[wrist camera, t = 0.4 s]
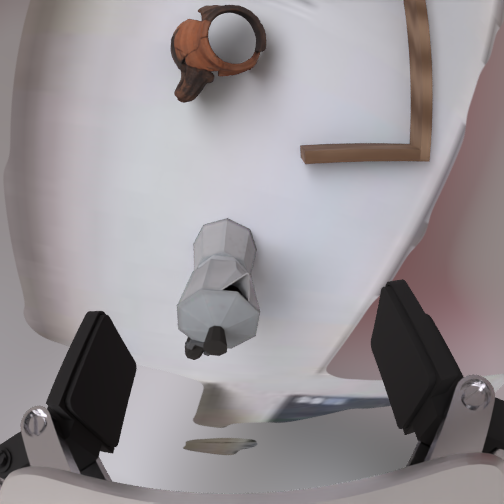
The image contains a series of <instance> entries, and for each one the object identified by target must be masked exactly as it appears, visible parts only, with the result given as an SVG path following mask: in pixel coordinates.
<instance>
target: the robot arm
mask: <svg viewBox="0 0 504 504" xmlns="http://www.w3.org/2000/svg"><path fill="white" fill-rule="evenodd" d="M371 348H372V351H373V354H374V357H375V360H376V362H377V365H378V368H379V371H380V374H381V377H382V380H383V383H384V386H385V389H386V392H387V395H388V398H389V401H390V404H391V407H392V410H393V413H394V416H395V419H396V422H397V426H398V427H399V429H403V430H404V433H405V435H407V434H410V433H413V432H415V434H416V437H417V439H418V443H417V445H416V447H415V449H414V451H413V454H412V456H411V458H410V460H409V462H408V464H407V466H406V467H405V468H401V469H398V470H395V471H391V472H387V473H384V474H380V475H375V476H371V477H367V478H363V479H358V480H354V481H349V482H344V483H339V484H333V485H327V486H322V487H315V488H308V489H299V490H290V491H280V492H267V493H246V494H245V493H243V494H217V493H194V492H180V491H170V490H161V489H153V488H145V487H139V486H133V485H127V484H122V483H117V482H112V480H111V478H110V476H109V475H108V473H107V471H106V469H105V468H104V466H103V464H102V462H101V460H100V458H99V452H100V451H103V452H108V453H113V451H114V447H116V446H117V445H118V443H119V438H120V434H121V429H122V425H123V421H124V417H125V412H126V408H127V404H128V400H129V396H130V392H131V388H132V385H133V381H134V377H135V373H136V362H135V360H134V359H133V357H132V356H131V354H130V352H129V351H128V349H127V347H126V345H125V344H124V342H123V340H122V338H121V337H120V335H119V333H118V331H117V330H116V328H115V326H114V324H113V322H112V320H111V319H110V317H109V316H108V315H106V314H105V313H104V312H103V311H90V312H87V314H86V315H85V317H84V319H83V321H82V323H81V325H80V327H79V329H78V331H77V333H76V335H75V337H74V339H73V342H72V344H71V346H70V348H69V350H68V352H67V354H66V357H65V359H64V361H63V364H62V366H61V368H60V370H59V372H58V375H57V377H56V379H55V382H54V384H53V387H52V389H51V392H50V394H49V397H48V399H47V402H46V404H47V405H48V408H47V409H46V408H45V407H43V406H35V407H32V408H30V409H29V410H28V411H27V412H26V413H25V414H24V416H23V418H22V420H21V432H19V433H17V434H16V435H14V436H13V437H11V438H10V439H8V440H7V441H5V442H4V443H2V444H0V504H504V401H503V400H500V399H498V398H495V392H494V388H493V387H492V385H491V383H490V382H489V381H488V380H487V379H486V378H484V377H482V376H479V375H468V376H466V377H463V375H462V373H461V371H460V369H459V367H458V365H457V363H456V361H455V359H454V357H453V356H452V354H451V352H450V350H449V348H448V346H447V344H446V343H445V341H444V339H443V337H442V335H441V334H440V332H439V330H438V328H437V327H436V325H435V323H434V321H433V320H432V318H431V317H430V316H429V315H428V314H425V312H424V311H423V309H422V307H421V306H420V304H419V302H418V301H417V299H416V297H415V296H414V294H413V293H412V291H411V289H410V288H409V286H408V284H407V283H406V281H405V280H397V281H390V282H387V284H386V287H382V289H381V294H380V300H379V305H378V310H377V315H376V320H375V325H374V329H373V334H372V338H371Z"/></svg>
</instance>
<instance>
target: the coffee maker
mask: <svg viewBox="0 0 504 504" xmlns="http://www.w3.org/2000/svg"><path fill="white" fill-rule="evenodd" d="M193 246H194V271H193V272H192V275H191V277H190V279H189V281H188V283H187V285H186V288H185V290H184V292H183V294H182V296H181V298H180V301H179V303H178V304H177V317H178V329H179V330H180V331H181V332H183V333H184V334H185V335H187V336H188V338H187V342H185V344H186V345H185V354H186V356H187V358H190V359H193V360H196V359H198V358H200V357H201V355H202V354H203V352H204V355H207V356H209V355H217V356H220V355H222V354H224V353H226V352H227V348H233V347H235V346H237V345H239V344H241V343H243V342H245V341H247V340H249V339H251V338H253V337H254V336H256V331H257V326H258V320H259V315H260V309H259V305H258V301H257V298H256V294H255V290H254V286H253V282H252V278H251V276H250V275H251V271H252V267H253V262H254V258H255V254H256V247H255V244H254V240H253V237H252V234H251V231H250V229H249V228H246V227H244V226H242V225H240V224H238V223H236V222H234V221H232V220H230V219H228V218H227V219H223V220H220V221H216V222H212V223H209V224H205V225H203V227H202V229H201V231H200V232H199V234H198V236H197V238H196V240H195V242H194V244H193Z"/></svg>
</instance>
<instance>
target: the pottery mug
mask: <svg viewBox="0 0 504 504" xmlns="http://www.w3.org/2000/svg"><path fill="white" fill-rule="evenodd" d="M198 12H199V13H201V16H202V21H198V20H192V19H187V20H186V21H185V22H182V23H181V24H180V25H179V26H178V27H177V29H176V30H175V32H174V34H173V36H172V39H171V54H172V58H173V60H174V62H175V63H176V65H177V66H178V68H179V69H180V70H181V80H180V82H179V84H178V86H177V88H176V90H175V93H174V94H175V96H176V97H177V98H178V100H179V101H181V102H183V103H185V102H189V101H192V100H194V99H195V98H196V97H197V96H198V95H199V93H200V92H201V91H202V90H203V88H204V86H205V85H206V84H207V83H211V82H213V80H214V75H213V73H212V72H210V71H218V76H230V75H236V74H239V73H242V72H245V71H247V70H250V69H251V68H253V67H254V66H255V64H256V63H257V60H258V58H259V55H260V52H263V51H264V50H265V49H266V33H265V30H264V27H263V25H262V24H261V23H260V20H259V19H258V17H257V16H255V15H254V14H253V13H252V12H251V11H250V10H248V9H246V8H244V7H241V6H235V5H225V6H219V5H213V6H204V7H202V8H200V9H199V10H198ZM230 12H231V13H235V14H238V15H240V16H242V17H244V18H245V19H246V20H247V21H248V22H249V23H250V25H251V26H252V28H253V30H254V32H255V36H256V48H255V52H254V54H253V56H252V57H251V58H250V59H248V60H247V61H245V62H243V63H240V64H232V63H228V62H224V61H223V60H221V59H220V58H219V57H218V56H217V55H216V54H215V53H214V52H213V50H212V48H211V46H210V44H209V40H208V30H209V27H210V25H211V22H212V21H213V20H214V19H215V18H216V17H217V16H218V15H220V14H223V13H230ZM184 61H185V62H186V64H187V65H186V64H185V63H184Z"/></svg>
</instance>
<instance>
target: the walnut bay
mask: <svg viewBox="0 0 504 504" xmlns="http://www.w3.org/2000/svg"><path fill="white" fill-rule="evenodd" d="M404 7H405V14H406V23H407V32H408V43H409V57H410V79H411V127H410V144H387V143H355V144H320V145H301V146H300V150H301V158H302V160H303V161H304V163H305V164H313V163H333V162H361V161H429V160H430V147H431V131H432V60H431V45H430V34H429V24H428V16H427V8H426V2H425V0H404Z"/></svg>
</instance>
